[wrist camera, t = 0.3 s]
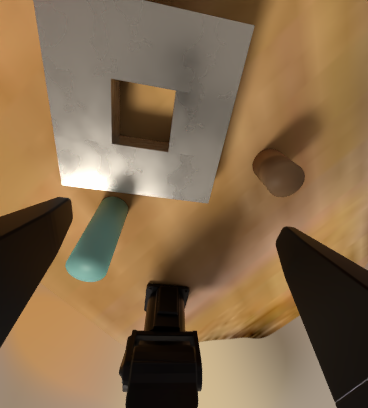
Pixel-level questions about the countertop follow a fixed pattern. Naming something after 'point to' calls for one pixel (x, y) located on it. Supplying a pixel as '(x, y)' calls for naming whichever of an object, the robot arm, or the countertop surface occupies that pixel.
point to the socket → (147, 75)
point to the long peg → (98, 241)
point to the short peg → (278, 172)
